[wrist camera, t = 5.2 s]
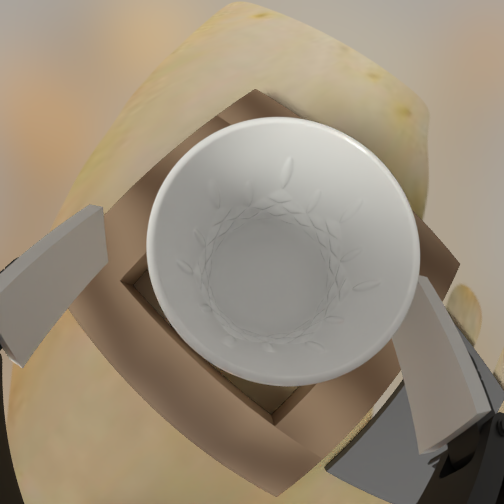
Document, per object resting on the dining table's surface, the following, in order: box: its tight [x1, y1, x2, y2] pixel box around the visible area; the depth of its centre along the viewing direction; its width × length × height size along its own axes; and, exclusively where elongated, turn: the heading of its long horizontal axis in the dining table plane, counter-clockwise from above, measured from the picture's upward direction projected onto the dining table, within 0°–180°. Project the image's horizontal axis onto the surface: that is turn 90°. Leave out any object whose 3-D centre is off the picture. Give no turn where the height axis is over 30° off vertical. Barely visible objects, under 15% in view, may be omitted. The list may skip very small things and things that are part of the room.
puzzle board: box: [68, 89, 460, 497], centre depth 16 cm, size 20×20×2 cm
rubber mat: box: [324, 322, 504, 504], centre depth 14 cm, size 14×14×1 cm
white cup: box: [146, 117, 420, 386], centre depth 12 cm, size 8×8×10 cm
